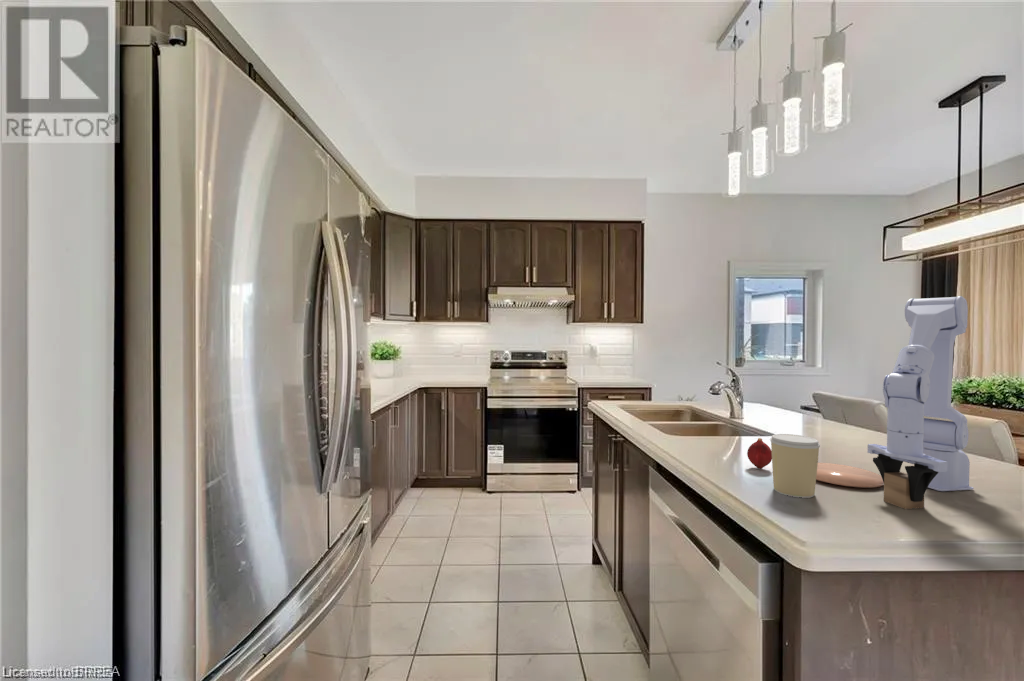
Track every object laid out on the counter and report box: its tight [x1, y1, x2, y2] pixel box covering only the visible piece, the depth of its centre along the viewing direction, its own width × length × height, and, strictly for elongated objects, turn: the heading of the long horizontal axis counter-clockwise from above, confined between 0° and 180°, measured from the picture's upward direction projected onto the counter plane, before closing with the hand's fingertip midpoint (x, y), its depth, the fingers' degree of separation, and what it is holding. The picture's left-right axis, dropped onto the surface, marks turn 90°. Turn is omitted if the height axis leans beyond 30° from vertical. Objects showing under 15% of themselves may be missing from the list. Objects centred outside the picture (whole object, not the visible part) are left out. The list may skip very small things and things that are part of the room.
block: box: [883, 471, 925, 510], centre depth 94 cm, size 4×4×6 cm
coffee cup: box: [770, 433, 821, 499], centre depth 101 cm, size 9×9×12 cm
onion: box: [746, 437, 772, 470], centre depth 118 cm, size 6×6×8 cm
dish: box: [816, 462, 884, 488], centre depth 111 cm, size 17×17×2 cm
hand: (903, 496), depth 94 cm, fingers closed on block, 4 cm apart
